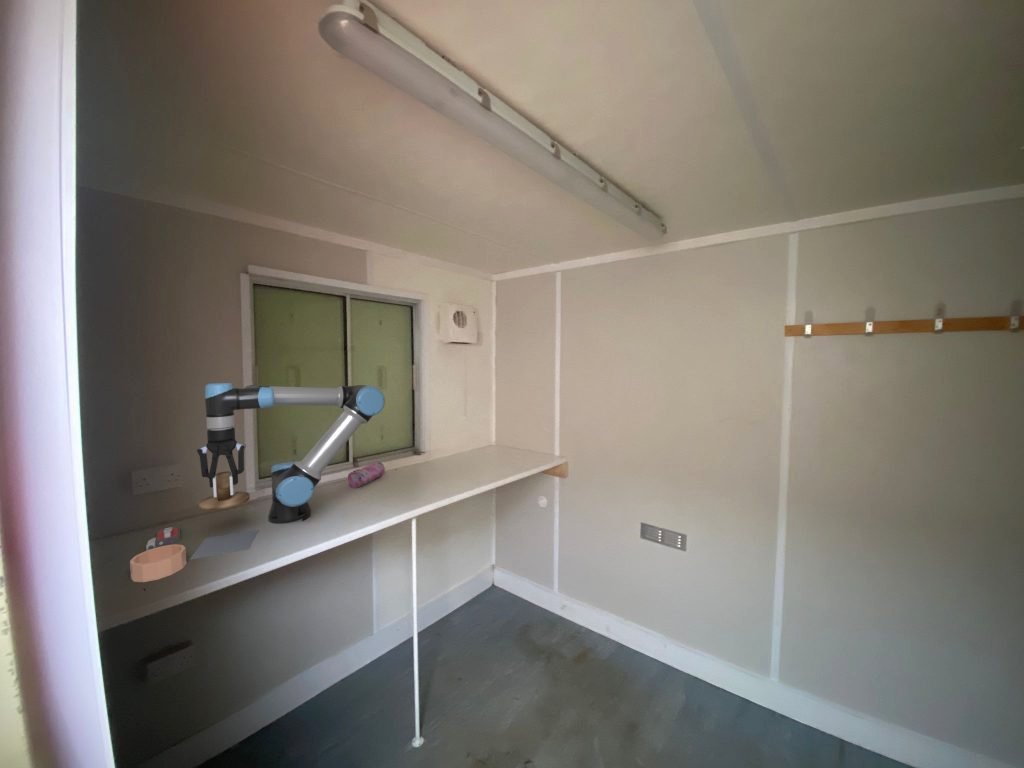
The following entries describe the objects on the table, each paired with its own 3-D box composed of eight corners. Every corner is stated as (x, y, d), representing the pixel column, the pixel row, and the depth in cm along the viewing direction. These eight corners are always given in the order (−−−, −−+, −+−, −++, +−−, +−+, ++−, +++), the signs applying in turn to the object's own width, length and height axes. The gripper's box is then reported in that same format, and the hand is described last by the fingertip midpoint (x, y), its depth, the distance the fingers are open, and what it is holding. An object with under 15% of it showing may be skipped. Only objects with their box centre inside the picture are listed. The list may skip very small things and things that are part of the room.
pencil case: (360, 489, 188) (359, 472, 188) (345, 488, 191) (344, 470, 190) (386, 477, 208) (386, 461, 208) (372, 475, 211) (372, 459, 211)
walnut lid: (253, 492, 139) (252, 465, 139) (244, 506, 127) (242, 476, 126) (207, 498, 134) (205, 470, 133) (192, 512, 121) (190, 482, 120)
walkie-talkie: (149, 539, 137) (144, 561, 122) (148, 527, 137) (143, 548, 122) (181, 531, 143) (180, 552, 128) (180, 520, 143) (179, 539, 128)
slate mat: (259, 532, 142) (258, 529, 142) (249, 552, 127) (248, 549, 127) (206, 540, 135) (206, 537, 135) (189, 562, 121) (189, 559, 121)
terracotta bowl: (191, 559, 123) (190, 541, 122) (176, 579, 112) (175, 559, 111) (143, 567, 118) (142, 549, 117) (123, 589, 107) (121, 568, 106)
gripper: (253, 424, 135) (256, 488, 137) (193, 428, 129) (197, 494, 130) (248, 428, 129) (251, 494, 130) (185, 432, 122) (189, 502, 123)
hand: (224, 494), depth 130 cm, fingers closed on walnut lid, 4 cm apart
